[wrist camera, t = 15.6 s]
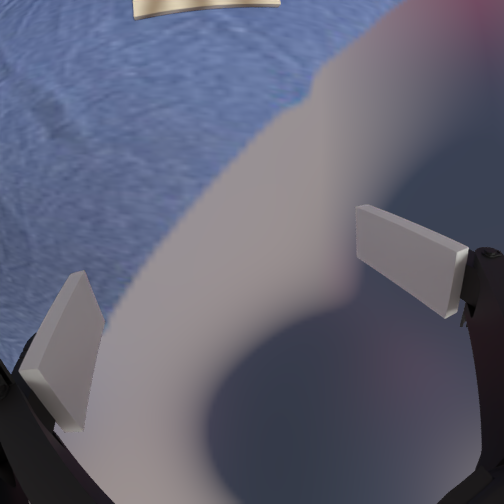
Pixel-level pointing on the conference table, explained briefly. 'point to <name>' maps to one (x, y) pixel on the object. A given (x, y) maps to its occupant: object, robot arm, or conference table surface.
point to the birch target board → (191, 6)
